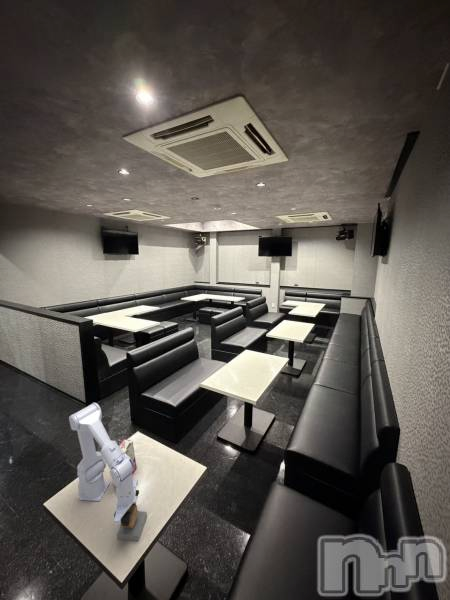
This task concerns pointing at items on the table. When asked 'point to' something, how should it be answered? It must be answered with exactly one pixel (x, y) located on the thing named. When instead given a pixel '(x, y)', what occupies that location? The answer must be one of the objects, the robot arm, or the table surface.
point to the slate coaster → (133, 529)
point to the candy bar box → (128, 451)
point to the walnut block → (132, 516)
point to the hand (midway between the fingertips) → (129, 517)
